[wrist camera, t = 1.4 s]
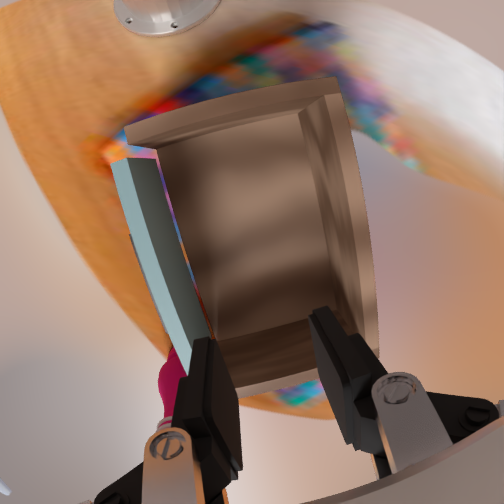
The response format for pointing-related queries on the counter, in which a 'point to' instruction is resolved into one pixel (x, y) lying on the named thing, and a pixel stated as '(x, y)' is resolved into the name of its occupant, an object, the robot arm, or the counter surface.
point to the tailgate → (160, 253)
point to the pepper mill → (169, 386)
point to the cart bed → (269, 223)
